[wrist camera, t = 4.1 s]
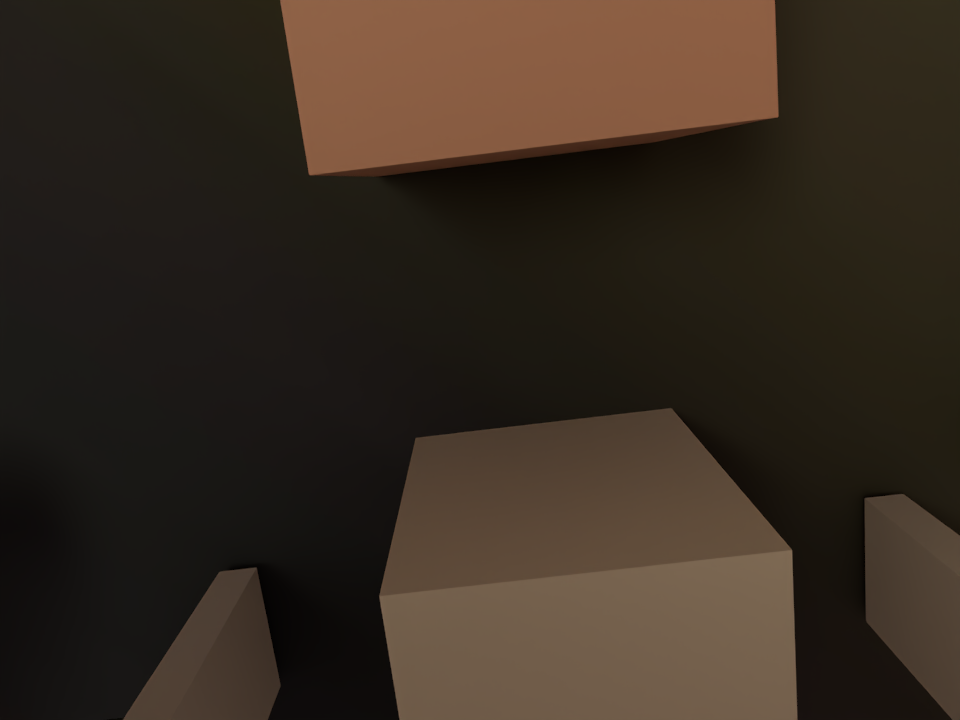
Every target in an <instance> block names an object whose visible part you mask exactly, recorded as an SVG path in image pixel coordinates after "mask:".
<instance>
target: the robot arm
mask: <svg viewBox="0 0 960 720" xmlns="http://www.w3.org/2000/svg"><path fill="white" fill-rule="evenodd" d="M865 592H866V622H867V623H868V624H869V625H870V627H871V628H872V629H873V630H874V631H875V632H876V633H877V635H878V636H879V637H880V638H881V639H882V640H883V641H884V643H885V644H886V645H887V646H888V647H889V648H890V649H891V650H892V652H893V653H894V654H895V655H896V656H897V657H898V658H899V660H900V661H901V662H902V663H903V664H904V665H905V666H906V668H907V669H908V670H909V671H910V672H911V673H912V674H913V675H914V677H915V678H916V679H917V680H918V681H919V682H920V683H921V685H922V686H923V687H924V688H925V689H926V690H927V691H928V693H929V694H930V695H931V696H932V697H933V698H934V699H935V701H936V702H937V703H938V704H939V705H940V706H941V707H942V708H943V710H944V711H945V712H946V713H947V714H948V715H949V716H950V718H951V719H952V720H960V535H958V534H957V533H955V532H954V531H953V530H951V529H950V528H949V527H947V526H946V525H945V524H943V523H942V522H941V521H939V520H938V519H937V518H935V517H934V516H932V515H931V514H930V513H928V512H927V511H926V510H924V509H923V508H922V507H920V506H919V505H918V504H916V503H915V502H913V501H912V500H911V499H909V498H908V497H907V496H905V495H904V494H897V495H888V496H880V497H871V498H865ZM280 686H281V685H280V680H279V675H278V670H277V665H276V660H275V655H274V650H273V645H272V641H271V636H270V631H269V626H268V621H267V616H266V611H265V606H264V601H263V596H262V591H261V587H260V582H259V577H258V572H257V567H256V568H247V569H239V570H230V571H221V572H219V573H218V575H217V576H216V578H215V579H214V581H213V582H212V584H211V585H210V587H209V589H208V590H207V592H206V593H205V595H204V596H203V598H202V599H201V601H200V602H199V604H198V605H197V607H196V608H195V610H194V611H193V613H192V615H191V616H190V618H189V619H188V621H187V622H186V624H185V625H184V627H183V628H182V630H181V631H180V633H179V634H178V636H177V638H176V639H175V641H174V642H173V644H172V645H171V647H170V648H169V650H168V651H167V653H166V654H165V656H164V657H163V659H162V661H161V662H160V664H159V665H158V667H157V668H156V670H155V671H154V673H153V674H152V676H151V677H150V679H149V680H148V682H147V683H146V685H145V687H144V688H143V690H142V691H141V693H140V694H139V696H138V697H137V699H136V700H135V702H134V703H133V705H132V706H131V708H130V710H129V711H128V713H127V714H126V716H125V717H124V718H118V719H109V720H268V718H269V715H270V712H271V710H272V707H273V705H274V702H275V699H276V697H277V694H278V692H279V689H280Z"/></svg>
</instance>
